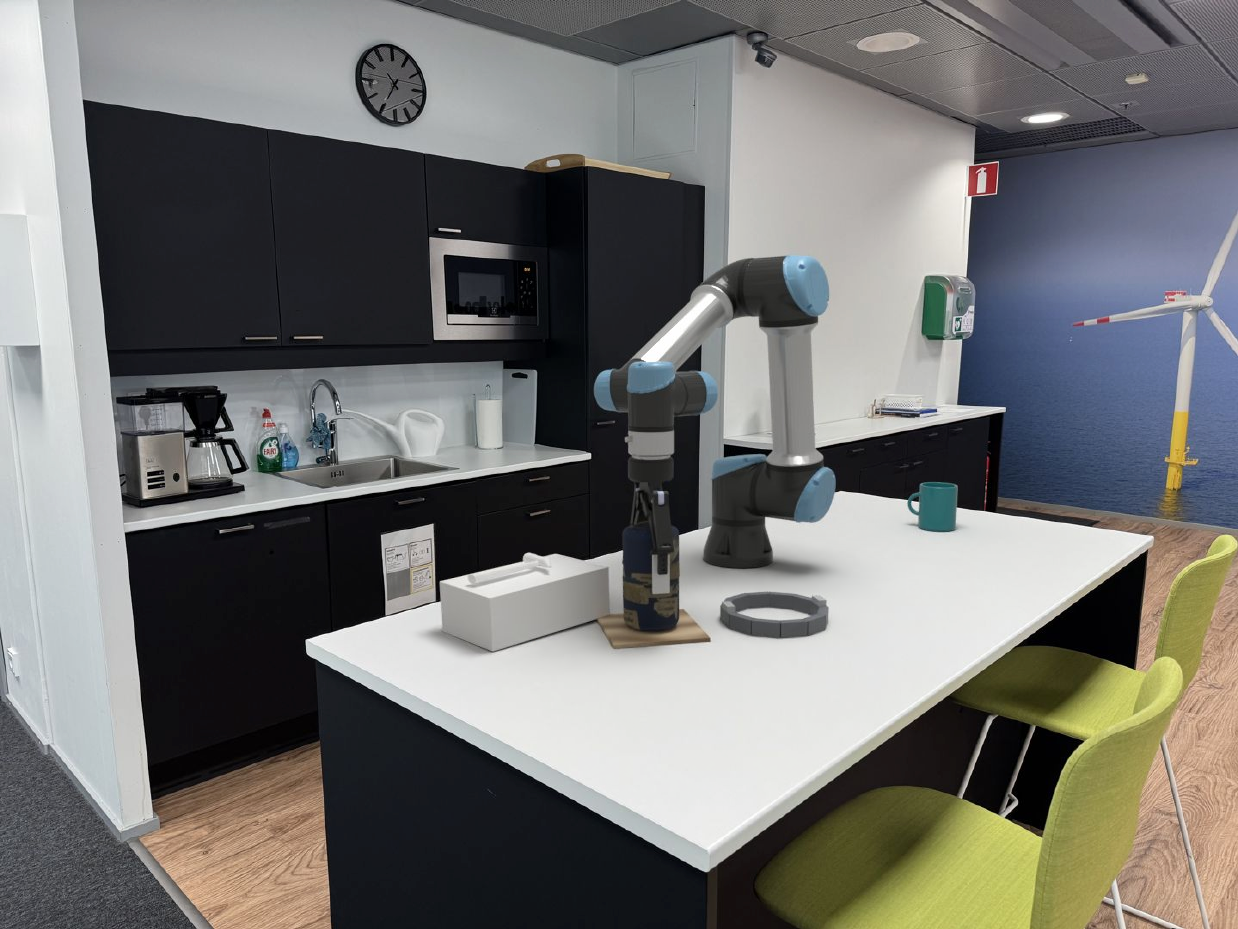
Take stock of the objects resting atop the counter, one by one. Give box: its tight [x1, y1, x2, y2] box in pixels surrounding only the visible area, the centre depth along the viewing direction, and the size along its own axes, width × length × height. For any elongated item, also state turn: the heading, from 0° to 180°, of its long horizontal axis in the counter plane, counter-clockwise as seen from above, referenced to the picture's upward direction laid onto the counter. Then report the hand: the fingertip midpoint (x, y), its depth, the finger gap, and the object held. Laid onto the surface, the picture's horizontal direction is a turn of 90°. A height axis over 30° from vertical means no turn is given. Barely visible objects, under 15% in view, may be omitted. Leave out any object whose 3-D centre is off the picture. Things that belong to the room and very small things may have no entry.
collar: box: [719, 591, 829, 639], centre depth 158 cm, size 18×18×4 cm
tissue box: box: [439, 552, 611, 652], centre depth 155 cm, size 14×25×11 cm, turn 133°
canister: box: [621, 521, 681, 631], centre depth 152 cm, size 10×10×18 cm
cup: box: [906, 481, 959, 533], centre depth 232 cm, size 9×12×11 cm
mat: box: [595, 608, 711, 649], centre depth 153 cm, size 16×16×1 cm
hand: (650, 582), depth 152 cm, fingers open, 13 cm apart
